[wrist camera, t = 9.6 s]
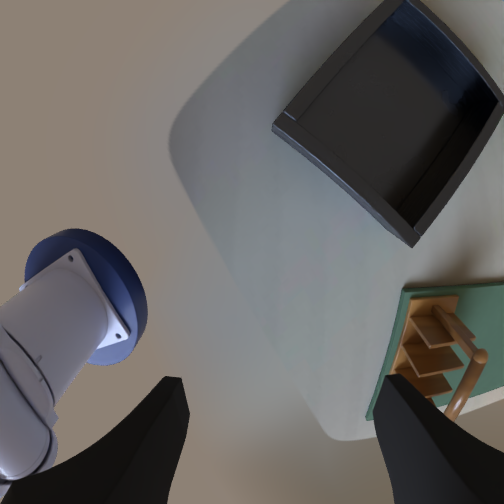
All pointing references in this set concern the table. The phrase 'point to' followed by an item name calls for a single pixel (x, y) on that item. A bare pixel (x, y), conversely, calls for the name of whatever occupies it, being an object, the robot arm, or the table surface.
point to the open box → (396, 116)
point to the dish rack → (437, 351)
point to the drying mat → (478, 322)
